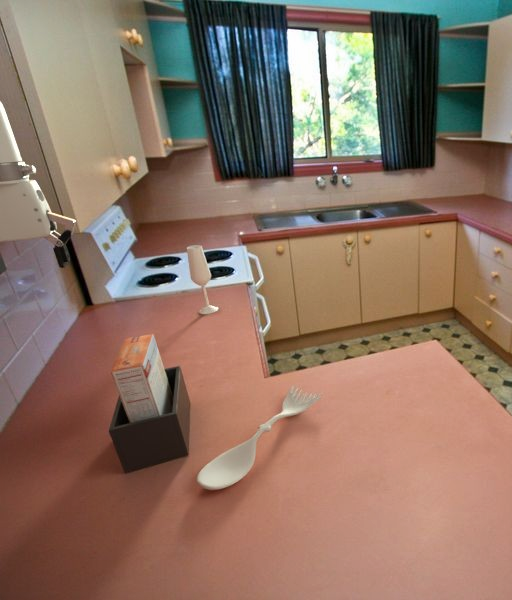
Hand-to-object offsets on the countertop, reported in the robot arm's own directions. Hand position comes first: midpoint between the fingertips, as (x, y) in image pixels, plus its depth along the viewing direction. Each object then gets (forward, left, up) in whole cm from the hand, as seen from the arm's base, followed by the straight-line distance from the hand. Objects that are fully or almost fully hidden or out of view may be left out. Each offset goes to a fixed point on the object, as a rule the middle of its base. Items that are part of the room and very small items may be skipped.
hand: (33, 269), depth 79 cm
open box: (+13, -6, -39) cm, 42 cm away
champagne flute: (+24, +62, -40) cm, 78 cm away
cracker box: (+13, -6, -39) cm, 41 cm away
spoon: (+34, -18, -40) cm, 55 cm away
